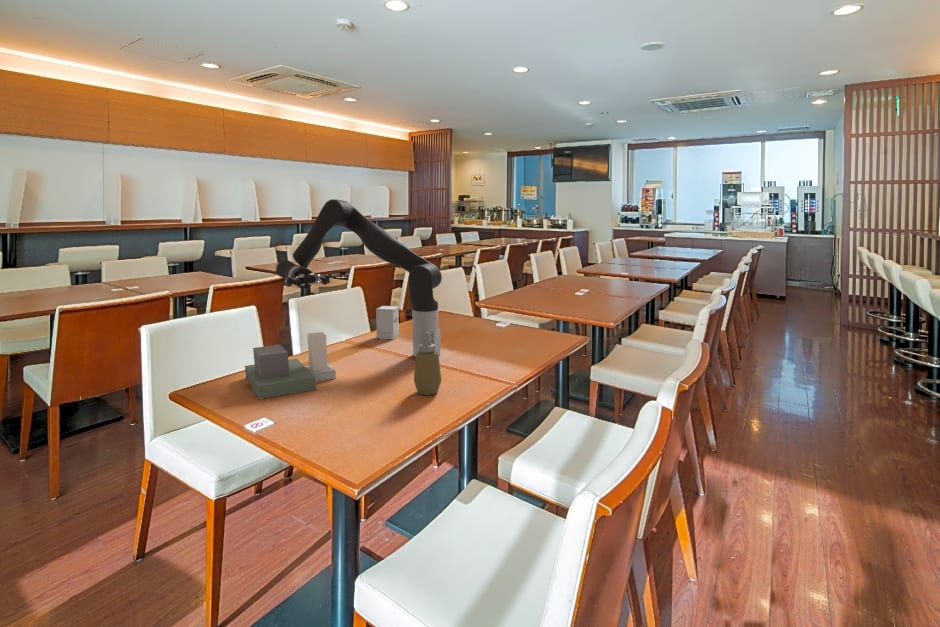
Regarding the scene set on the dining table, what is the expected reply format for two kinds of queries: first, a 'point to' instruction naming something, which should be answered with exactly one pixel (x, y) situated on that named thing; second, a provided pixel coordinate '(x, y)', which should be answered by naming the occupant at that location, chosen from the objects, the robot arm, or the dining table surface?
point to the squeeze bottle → (427, 368)
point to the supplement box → (387, 322)
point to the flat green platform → (281, 373)
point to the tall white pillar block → (317, 352)
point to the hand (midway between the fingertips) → (313, 282)
